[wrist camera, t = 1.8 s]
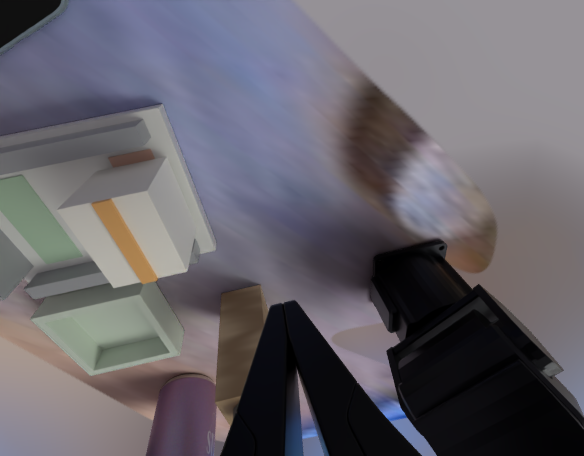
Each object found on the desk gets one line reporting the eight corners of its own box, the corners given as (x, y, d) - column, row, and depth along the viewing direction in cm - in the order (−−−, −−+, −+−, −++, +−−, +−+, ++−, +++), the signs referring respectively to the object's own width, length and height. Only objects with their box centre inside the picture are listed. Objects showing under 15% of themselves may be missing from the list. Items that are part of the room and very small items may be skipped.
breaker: (166, 156, 17) (145, 192, 13) (196, 227, 19) (186, 274, 16) (96, 171, 16) (54, 212, 13) (136, 240, 19) (112, 290, 15)
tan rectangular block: (260, 284, 25) (271, 406, 17) (268, 310, 27) (281, 430, 19) (221, 293, 25) (213, 420, 17) (232, 318, 27) (230, 443, 19)
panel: (162, 103, 16) (143, 121, 13) (216, 242, 22) (213, 279, 19) (-75, 151, 16) (-157, 182, 12) (43, 280, 21) (8, 325, 18)
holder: (148, 270, 22) (139, 294, 20) (184, 330, 27) (180, 355, 25) (49, 292, 22) (30, 319, 20) (101, 349, 26) (90, 376, 24)
